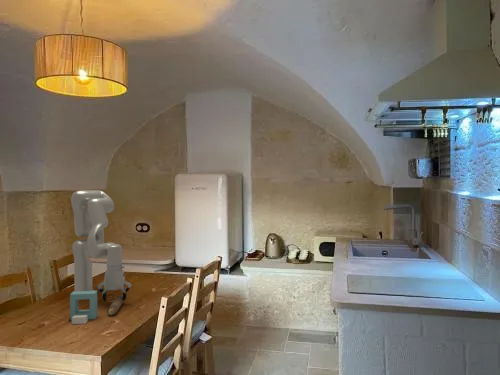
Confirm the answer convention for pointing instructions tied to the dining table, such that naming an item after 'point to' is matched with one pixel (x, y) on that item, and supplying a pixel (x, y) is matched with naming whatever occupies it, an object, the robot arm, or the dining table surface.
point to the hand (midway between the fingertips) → (114, 300)
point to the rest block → (79, 319)
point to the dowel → (115, 305)
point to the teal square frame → (83, 295)
